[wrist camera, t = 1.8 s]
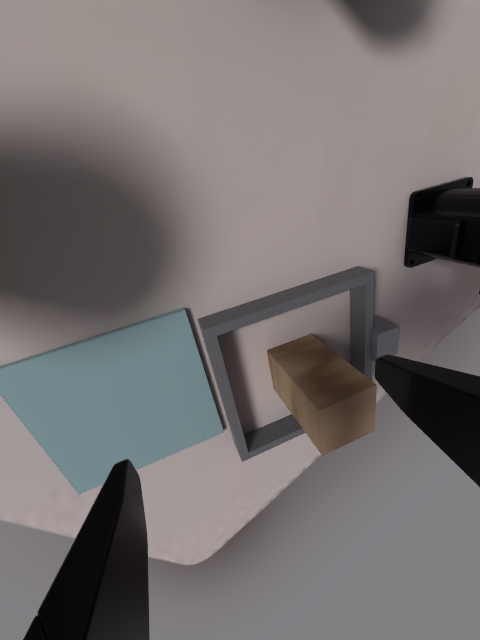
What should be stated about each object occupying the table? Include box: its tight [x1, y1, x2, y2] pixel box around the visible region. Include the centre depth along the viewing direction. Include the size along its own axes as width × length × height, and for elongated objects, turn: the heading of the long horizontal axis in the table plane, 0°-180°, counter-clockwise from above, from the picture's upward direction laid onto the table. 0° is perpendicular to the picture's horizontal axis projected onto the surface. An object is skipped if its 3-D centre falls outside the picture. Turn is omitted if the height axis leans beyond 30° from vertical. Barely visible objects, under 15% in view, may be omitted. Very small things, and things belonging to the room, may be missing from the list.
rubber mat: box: [0, 308, 224, 494], centre depth 22 cm, size 13×13×1 cm
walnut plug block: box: [267, 334, 377, 456], centre depth 23 cm, size 4×4×8 cm
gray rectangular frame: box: [198, 266, 399, 462], centre depth 25 cm, size 17×15×3 cm
